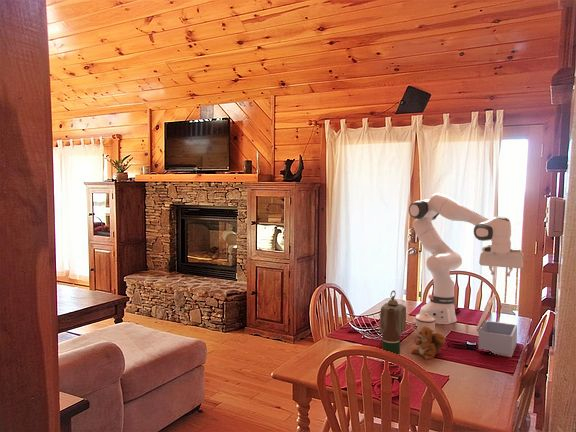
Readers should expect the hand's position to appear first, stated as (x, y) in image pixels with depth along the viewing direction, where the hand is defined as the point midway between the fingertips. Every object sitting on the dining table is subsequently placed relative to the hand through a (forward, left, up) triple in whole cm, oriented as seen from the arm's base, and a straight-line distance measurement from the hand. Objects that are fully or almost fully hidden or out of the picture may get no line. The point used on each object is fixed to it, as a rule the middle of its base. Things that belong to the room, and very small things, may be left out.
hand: (500, 275), depth 234 cm
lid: (-11, -17, -15) cm, 25 cm away
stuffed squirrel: (-41, -31, -31) cm, 60 cm away
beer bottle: (-60, -44, -31) cm, 81 cm away
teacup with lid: (-39, -4, -31) cm, 50 cm away
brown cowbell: (-55, -12, -31) cm, 64 cm away
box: (-7, -19, -31) cm, 37 cm away
